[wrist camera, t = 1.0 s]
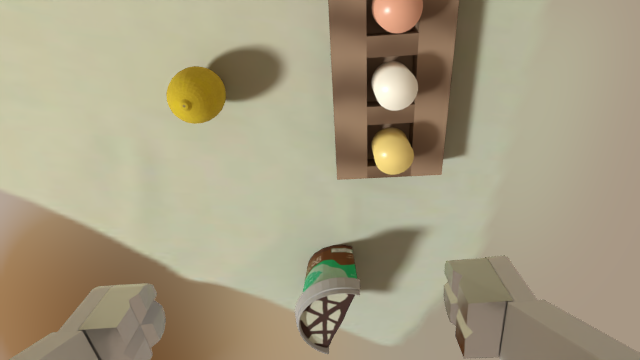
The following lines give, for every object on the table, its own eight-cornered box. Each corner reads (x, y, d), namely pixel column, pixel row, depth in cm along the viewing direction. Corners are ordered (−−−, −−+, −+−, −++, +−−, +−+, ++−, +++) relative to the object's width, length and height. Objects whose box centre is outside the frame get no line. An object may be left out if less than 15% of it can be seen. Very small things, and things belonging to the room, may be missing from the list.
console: (326, -38, 36) (326, -39, 32) (452, -47, 35) (464, -50, 32) (336, 166, 46) (337, 179, 43) (433, 161, 45) (441, 174, 42)
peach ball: (371, -17, 33) (375, -17, 30) (415, -20, 33) (424, -21, 30) (371, 30, 35) (375, 34, 32) (413, 27, 35) (421, 31, 32)
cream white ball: (371, 62, 37) (375, 69, 34) (411, 59, 37) (419, 66, 33) (371, 101, 39) (375, 111, 36) (409, 99, 38) (416, 109, 35)
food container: (314, 226, 50) (310, 278, 42) (355, 238, 51) (361, 291, 42) (289, 289, 56) (282, 346, 47) (327, 298, 57) (327, 356, 48)
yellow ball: (371, 128, 40) (374, 140, 37) (408, 126, 40) (415, 138, 37) (371, 161, 42) (374, 175, 39) (406, 159, 42) (412, 173, 39)
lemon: (236, 67, 40) (216, 85, 33) (229, 114, 43) (210, 140, 36) (185, 54, 40) (155, 69, 33) (182, 102, 42) (153, 126, 35)
